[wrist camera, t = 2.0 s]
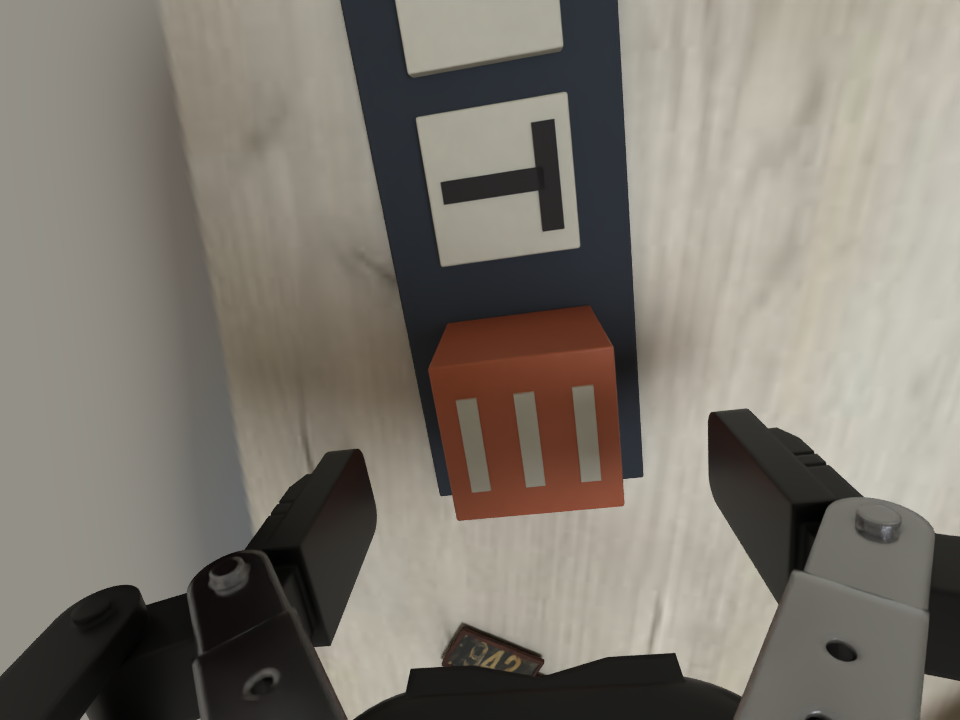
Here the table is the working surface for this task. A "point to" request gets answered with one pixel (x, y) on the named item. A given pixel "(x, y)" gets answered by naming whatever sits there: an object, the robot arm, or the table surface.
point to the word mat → (501, 171)
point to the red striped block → (528, 414)
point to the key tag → (490, 654)
